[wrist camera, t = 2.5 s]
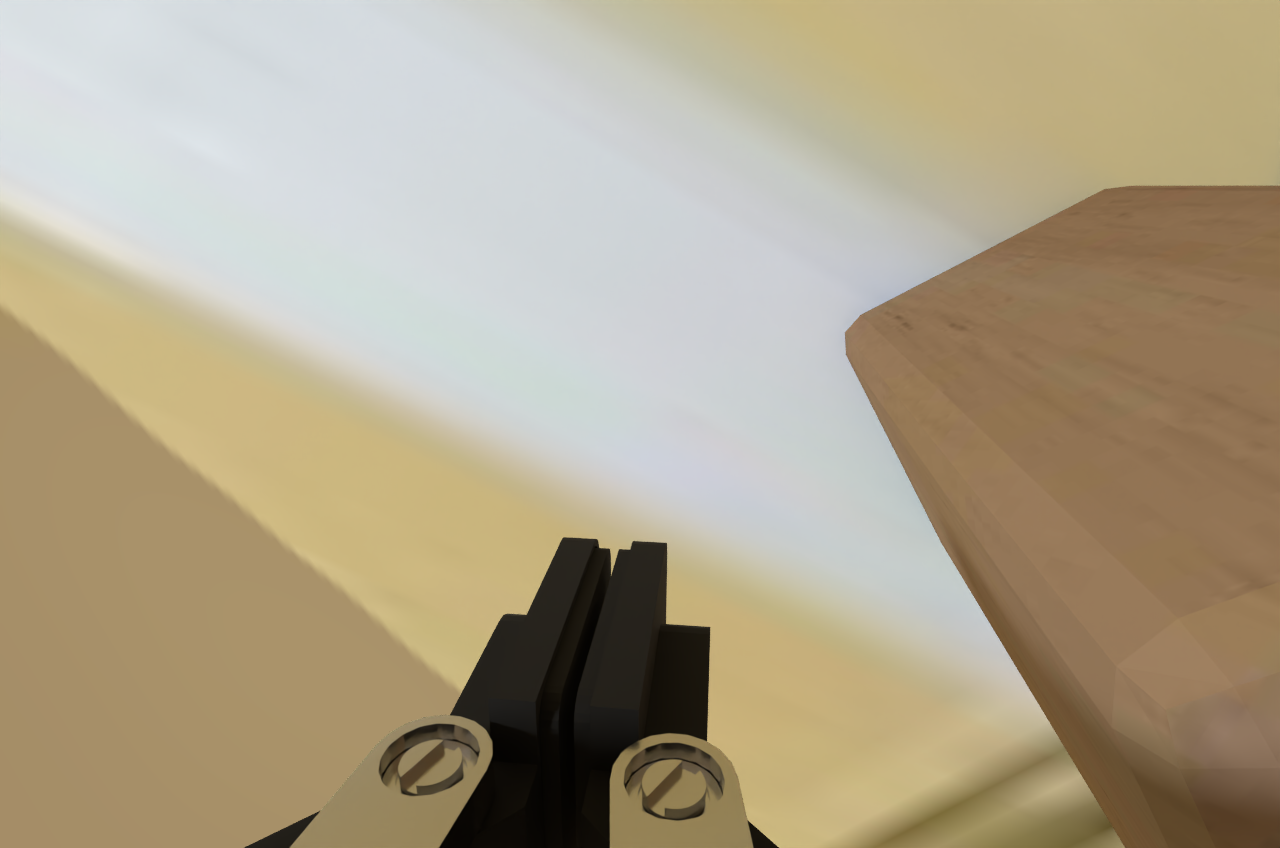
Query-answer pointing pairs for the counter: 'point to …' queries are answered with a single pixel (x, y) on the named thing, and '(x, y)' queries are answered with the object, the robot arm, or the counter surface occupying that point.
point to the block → (1115, 486)
